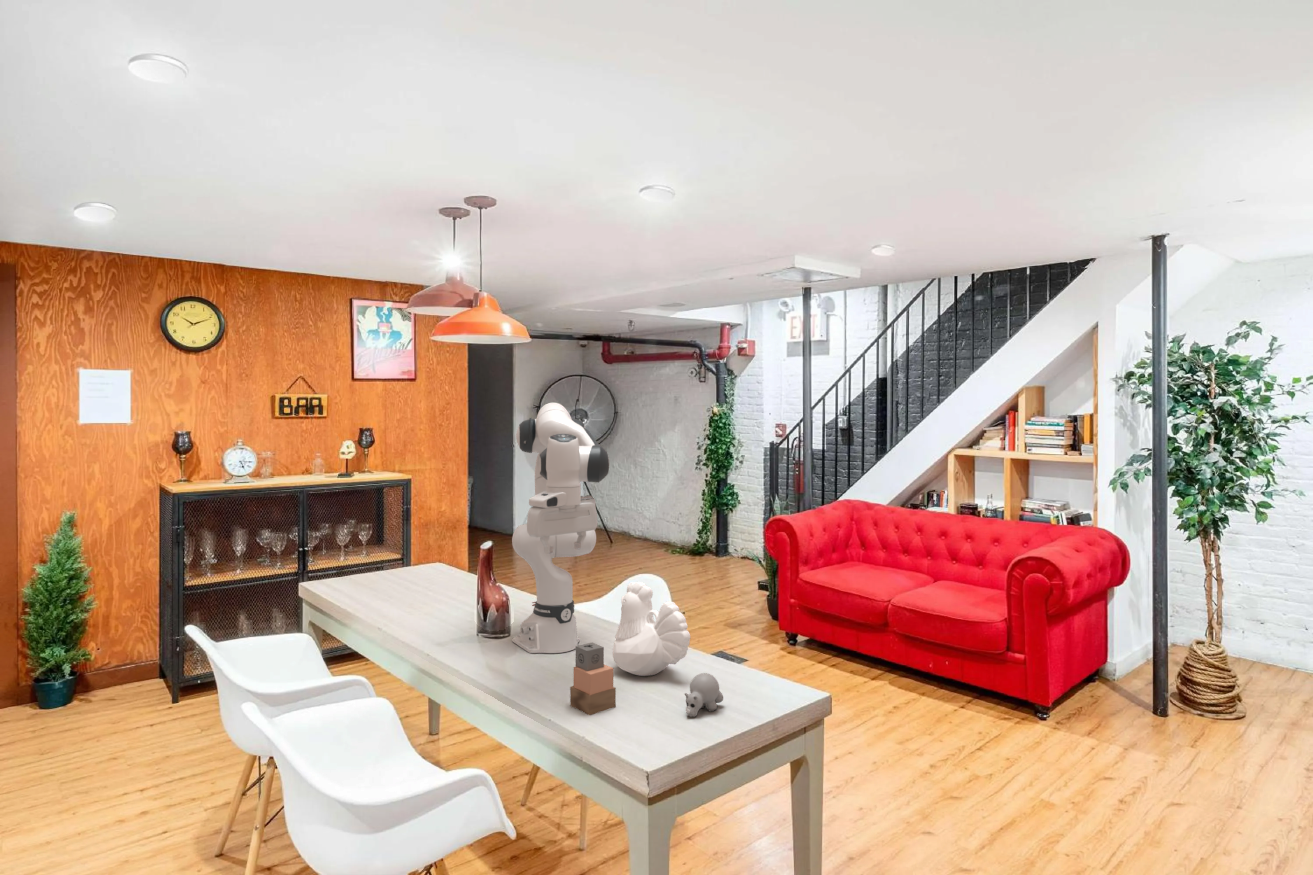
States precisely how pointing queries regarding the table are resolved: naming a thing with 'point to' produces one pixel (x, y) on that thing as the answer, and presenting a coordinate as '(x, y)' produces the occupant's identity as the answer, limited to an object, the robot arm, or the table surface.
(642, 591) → the decorative rooster
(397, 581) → the table surface
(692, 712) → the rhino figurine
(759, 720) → the table surface
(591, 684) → the terracotta top block
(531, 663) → the table surface
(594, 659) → the dice cube
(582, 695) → the walnut base block
